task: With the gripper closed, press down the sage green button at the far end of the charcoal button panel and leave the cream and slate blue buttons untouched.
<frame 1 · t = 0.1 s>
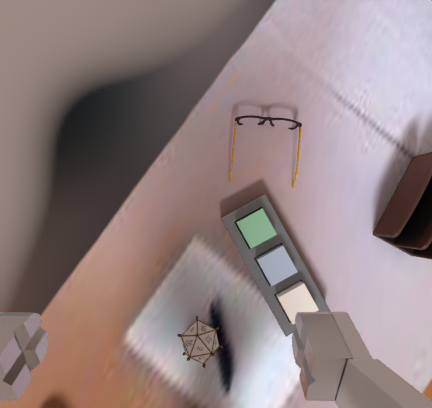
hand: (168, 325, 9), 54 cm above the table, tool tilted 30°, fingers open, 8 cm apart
cream button: (296, 301, 59), point 4 cm above the table, slide at 0.0 cm
eyeglasses: (263, 154, 65), on the table
letter holder: (411, 206, 64), on the table
slate blue button: (275, 264, 60), point 4 cm above the table, slide at 0.0 cm
green button: (255, 228, 60), point 4 cm above the table, slide at 0.0 cm
button panel: (272, 262, 63), on the table
game die: (201, 333, 63), on the table
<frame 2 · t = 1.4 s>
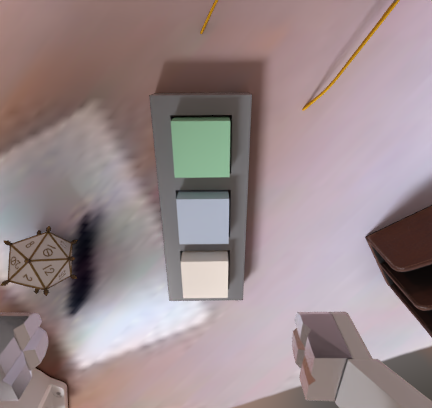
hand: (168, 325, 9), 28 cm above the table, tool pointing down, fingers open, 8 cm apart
cream button: (205, 273, 39), point 4 cm above the table, slide at 0.0 cm
eyeglasses: (295, 10, 30), on the table
slate blue button: (203, 216, 35), point 4 cm above the table, slide at 0.0 cm
green button: (201, 147, 32), point 4 cm above the table, slide at 0.0 cm
button panel: (204, 204, 38), on the table
game die: (58, 243, 41), on the table
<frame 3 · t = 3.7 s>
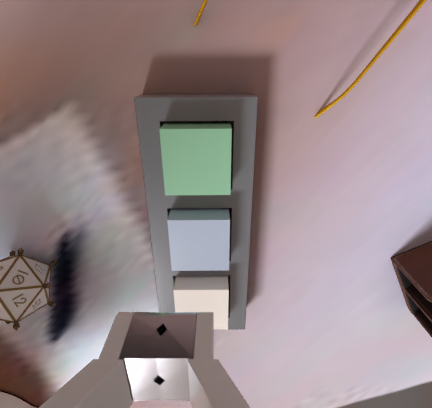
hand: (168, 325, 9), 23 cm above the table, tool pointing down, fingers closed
cream button: (202, 300, 34), point 3 cm above the table, slide at 0.0 cm
slate blue button: (200, 238, 30), point 4 cm above the table, slide at 0.0 cm
green button: (197, 158, 27), point 3 cm above the table, slide at 0.0 cm
button panel: (201, 222, 33), on the table
game die: (35, 264, 36), on the table
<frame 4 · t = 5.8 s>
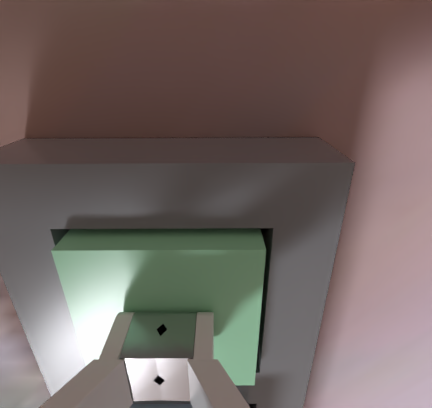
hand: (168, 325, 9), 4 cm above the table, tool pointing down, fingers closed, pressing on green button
green button: (173, 294, 11), point 2 cm above the table, slide at 1.3 cm, touching gripper
button panel: (188, 382, 16), on the table
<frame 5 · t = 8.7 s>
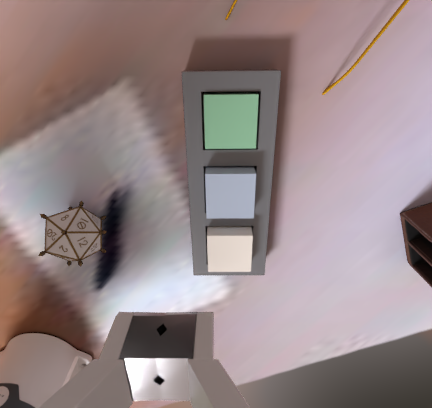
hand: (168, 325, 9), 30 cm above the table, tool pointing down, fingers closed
cream button: (229, 247, 40), point 4 cm above the table, slide at 0.0 cm
slate blue button: (229, 192, 37), point 3 cm above the table, slide at 0.0 cm
green button: (230, 120, 34), point 2 cm above the table, slide at 1.5 cm
button panel: (229, 181, 40), on the table
game die: (87, 219, 43), on the table
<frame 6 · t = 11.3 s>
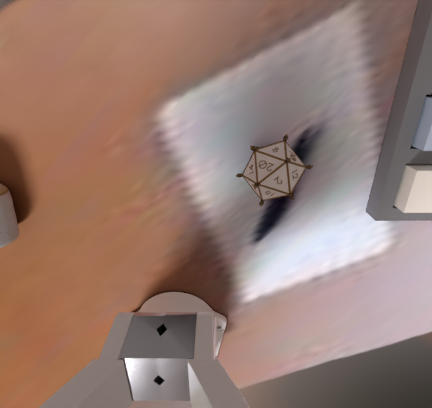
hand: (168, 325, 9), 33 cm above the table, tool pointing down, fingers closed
cream button: (425, 188, 39), point 3 cm above the table, slide at 0.0 cm
button panel: (428, 118, 39), on the table
game die: (268, 161, 41), on the table
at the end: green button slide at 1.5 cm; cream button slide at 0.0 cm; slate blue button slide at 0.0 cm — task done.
